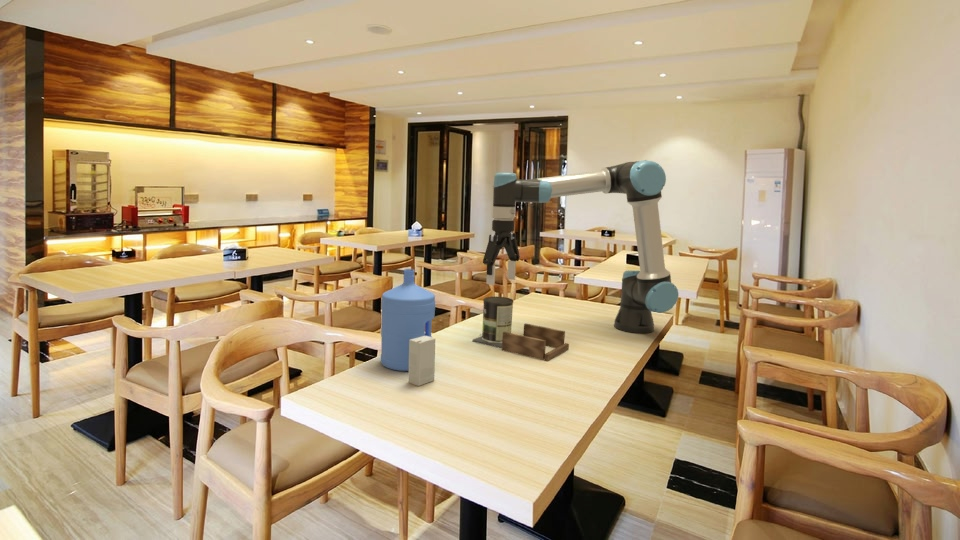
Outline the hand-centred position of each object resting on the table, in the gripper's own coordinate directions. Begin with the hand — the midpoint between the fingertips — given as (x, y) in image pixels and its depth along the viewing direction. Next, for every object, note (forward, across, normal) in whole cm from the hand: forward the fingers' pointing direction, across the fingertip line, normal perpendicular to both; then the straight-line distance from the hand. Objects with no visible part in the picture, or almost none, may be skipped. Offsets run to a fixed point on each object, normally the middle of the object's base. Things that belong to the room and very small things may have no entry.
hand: (501, 281), depth 179 cm
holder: (+21, -1, -14) cm, 25 cm away
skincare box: (+21, -47, -4) cm, 51 cm away
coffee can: (+20, -1, 0) cm, 20 cm away
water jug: (+21, -38, +9) cm, 44 cm away
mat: (+21, -1, 0) cm, 21 cm away
